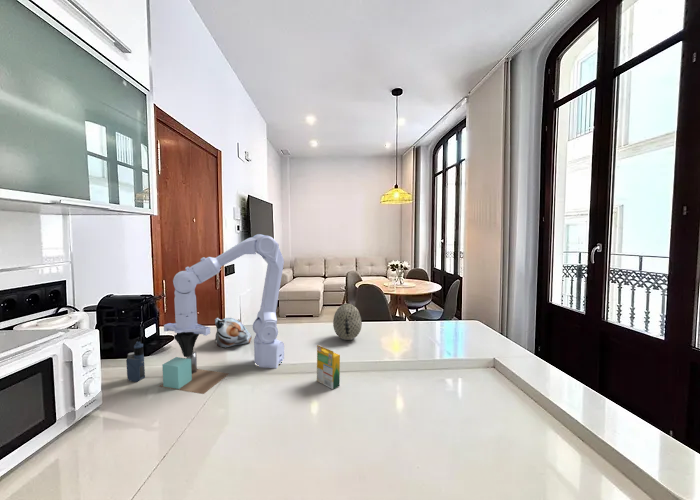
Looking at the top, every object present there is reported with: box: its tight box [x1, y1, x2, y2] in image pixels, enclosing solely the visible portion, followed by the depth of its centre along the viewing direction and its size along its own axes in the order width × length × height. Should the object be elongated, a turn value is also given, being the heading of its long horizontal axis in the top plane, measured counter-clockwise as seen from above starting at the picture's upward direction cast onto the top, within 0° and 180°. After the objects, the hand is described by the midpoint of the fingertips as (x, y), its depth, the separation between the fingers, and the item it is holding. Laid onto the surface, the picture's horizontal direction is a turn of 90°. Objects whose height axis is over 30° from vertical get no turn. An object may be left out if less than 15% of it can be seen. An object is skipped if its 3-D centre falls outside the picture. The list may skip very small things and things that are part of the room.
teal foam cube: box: [161, 356, 192, 390], centre depth 94 cm, size 5×5×7 cm
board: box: [157, 368, 230, 395], centre depth 96 cm, size 15×12×1 cm
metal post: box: [186, 351, 198, 374], centre depth 101 cm, size 3×3×6 cm
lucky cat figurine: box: [214, 317, 253, 349], centre depth 125 cm, size 15×12×14 cm
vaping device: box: [125, 341, 146, 383], centre depth 97 cm, size 3×5×12 cm, turn 78°
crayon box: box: [316, 344, 341, 390], centre depth 97 cm, size 7×3×12 cm, turn 47°
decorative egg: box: [332, 303, 363, 341], centre depth 132 cm, size 12×12×15 cm
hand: (188, 355), depth 97 cm, fingers closed
